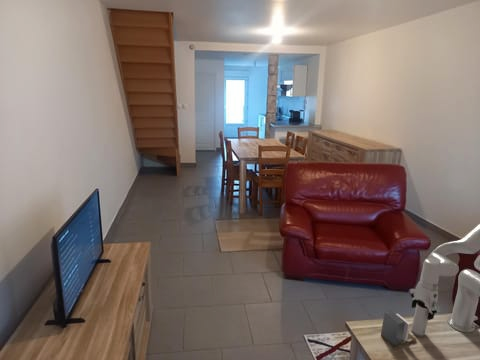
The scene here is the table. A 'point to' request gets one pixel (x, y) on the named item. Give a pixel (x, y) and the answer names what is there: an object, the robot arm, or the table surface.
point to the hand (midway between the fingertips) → (421, 313)
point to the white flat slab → (405, 329)
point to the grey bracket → (394, 330)
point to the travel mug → (420, 319)
